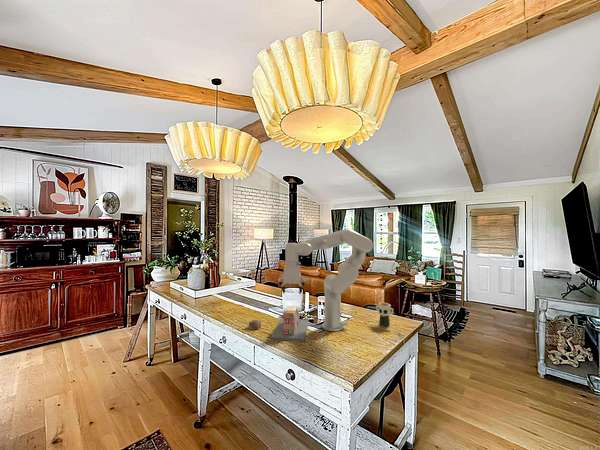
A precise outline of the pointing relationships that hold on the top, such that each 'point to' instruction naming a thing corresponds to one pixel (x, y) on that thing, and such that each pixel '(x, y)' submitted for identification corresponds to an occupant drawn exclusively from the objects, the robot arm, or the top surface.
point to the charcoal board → (297, 336)
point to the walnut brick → (255, 324)
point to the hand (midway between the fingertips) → (292, 293)
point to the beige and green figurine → (384, 313)
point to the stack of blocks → (290, 320)
